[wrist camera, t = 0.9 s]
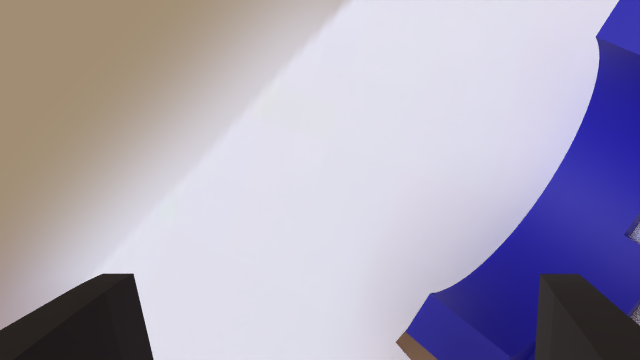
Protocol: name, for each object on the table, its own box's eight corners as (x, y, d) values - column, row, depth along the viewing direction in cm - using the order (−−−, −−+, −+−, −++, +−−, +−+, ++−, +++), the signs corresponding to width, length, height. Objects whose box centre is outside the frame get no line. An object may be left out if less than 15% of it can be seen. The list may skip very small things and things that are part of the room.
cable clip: (570, 399, 22) (526, 435, 17) (470, 319, 24) (405, 331, 19) (783, 109, 20) (802, 53, 15) (648, 53, 22) (626, -12, 17)
